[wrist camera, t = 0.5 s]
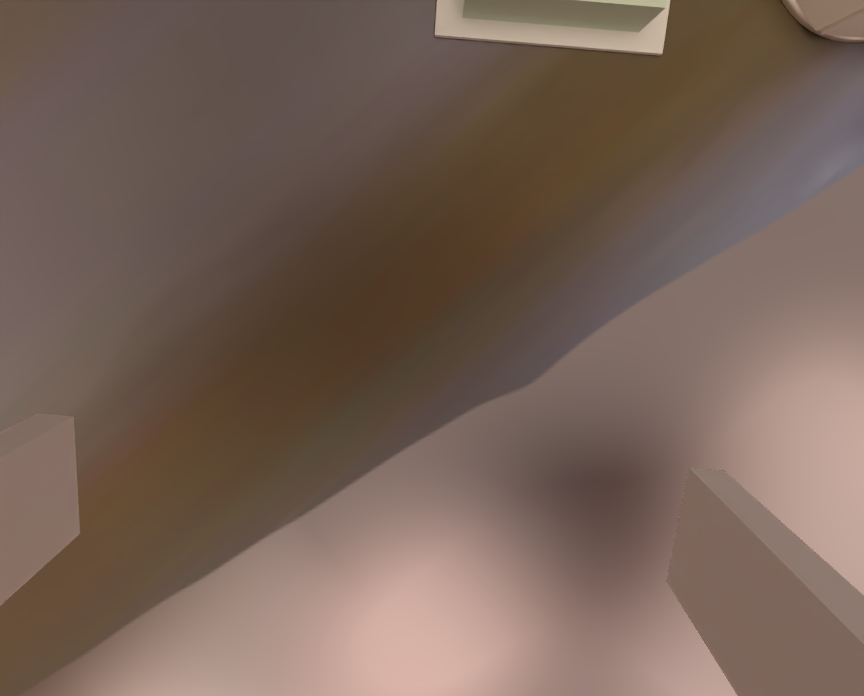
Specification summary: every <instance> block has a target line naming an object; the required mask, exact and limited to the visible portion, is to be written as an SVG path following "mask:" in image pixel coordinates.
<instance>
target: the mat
mask: <svg viewBox="0 0 864 696" xmlns="http://www.w3.org/2000/svg"><path fill="white" fill-rule="evenodd" d="M669 5H670V0H667V3H666V8H665V9H664V10H663V11H662V12H661V13H660V14H658V15H657V16H656V17H655V18H654V19H653V20H652V21H651V22H650V23H649V24H648V25H646V26H645V27H644V28H643V29H642V30H641V31H640V32H627V31H615V30H603V29H591V28H579V27H567V26H555V25H543V24H531V23H519V22H507V21H495V20H483V19H471V18H463V6H464V0H437V9H436V23H435V37H441V38H453V39H465V40H477V41H489V42H501V43H513V44H525V45H537V46H549V47H561V48H573V49H585V50H597V51H609V52H621V53H633V54H646V55H658V56H660V55H661V54H662V52H663V46H664V39H665V32H666V26H667V19H668V12H669Z"/></svg>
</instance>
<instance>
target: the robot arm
mask: <svg viewBox="0 0 864 696" xmlns="http://www.w3.org/2000/svg"><path fill="white" fill-rule="evenodd" d="M79 534H80V527H79V508H78V490H77V471H76V452H75V433H74V416H65V415H53V414H41V413H37V414H35V415H33V416H31V417H29V418H27V419H25V420H23V421H21V422H19V423H17V424H15V425H13V426H11V427H9V428H7V429H5V430H3V431H1V432H0V605H1V604H3V603H4V602H5V601H6V600H7V599H8V598H9V597H10V596H11V595H13V594H14V593H15V592H16V591H17V590H18V589H19V588H20V587H21V586H23V585H24V584H25V583H26V582H27V581H28V580H29V579H30V578H31V577H32V576H34V575H35V574H36V573H37V572H38V571H39V570H40V569H41V568H42V567H44V566H45V565H46V564H47V563H48V562H49V561H50V560H51V559H52V558H53V557H55V556H56V555H57V554H58V553H59V552H60V551H61V550H62V549H63V548H65V547H66V546H67V545H68V544H69V543H70V542H71V541H72V540H73V539H75V538H76V537H77V536H78V535H79ZM666 581H667V583H668V585H669V586H670V588H671V589H672V591H673V592H674V594H675V596H676V597H677V599H678V601H679V602H680V604H681V605H682V607H683V609H684V610H685V612H686V613H687V615H688V617H689V618H690V620H691V621H692V623H693V624H694V626H695V628H696V629H697V631H698V633H699V634H700V636H701V637H702V639H703V641H704V642H705V644H706V646H707V647H708V649H709V650H710V652H711V654H712V655H713V656H714V658H715V660H716V662H717V663H718V665H719V666H720V668H721V670H722V671H723V673H724V674H725V676H726V678H727V679H728V681H729V682H730V684H731V686H732V687H733V689H734V690H735V692H736V693H737V695H738V696H864V596H863V595H862V594H861V593H860V592H859V591H858V590H857V589H856V588H855V587H853V586H852V585H851V584H850V583H849V582H848V581H847V580H846V579H845V578H843V577H842V576H841V575H840V574H839V573H838V572H837V571H836V570H834V569H833V568H832V567H831V566H830V565H829V564H828V563H827V562H826V561H824V560H823V559H822V558H821V557H820V556H819V555H818V554H817V553H816V552H814V551H813V550H812V549H811V548H810V547H809V546H808V545H807V544H805V543H804V542H803V541H802V540H801V539H800V538H799V537H798V536H797V535H796V534H794V533H793V532H792V531H791V530H790V529H789V528H788V527H787V526H785V525H784V524H783V523H782V522H781V521H780V520H779V519H778V518H776V517H775V516H774V515H773V514H772V513H771V512H770V511H769V510H768V509H767V508H765V507H764V506H763V505H762V504H761V503H760V502H759V501H757V500H756V499H755V498H754V497H753V496H752V495H751V494H750V493H749V492H748V491H746V490H745V489H744V488H743V487H742V486H741V485H740V484H739V483H738V482H736V481H735V480H734V479H733V478H732V477H731V476H730V475H728V473H726V472H725V471H724V470H712V469H700V468H689V469H688V474H687V479H686V484H685V489H684V494H683V499H682V504H681V510H680V514H679V520H678V525H677V530H676V535H675V540H674V545H673V550H672V555H671V560H670V565H669V570H668V576H667V580H666Z"/></svg>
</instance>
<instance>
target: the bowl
mask: <svg viewBox="0 0 864 696" xmlns="http://www.w3.org/2000/svg"><path fill="white" fill-rule="evenodd" d="M781 1H782V2H783V4H784V6H785V7H786V9H787V10H788V11H789V12H790V14H791V15H792V16H793V17H794V18H795V19H796V20H797V21H798V22H799V23H800V24H801V25H803V26H804V27H805V28H807V29H808V30H810V31H811V32H813V33H815V34H817V35H819V36H821V37H824V38H827V39H830V40H834V41H840V42H847V43H860V42H864V0H781Z"/></svg>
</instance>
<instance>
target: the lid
mask: <svg viewBox="0 0 864 696" xmlns="http://www.w3.org/2000/svg"><path fill="white" fill-rule="evenodd" d="M666 3H667V0H464V6H463V18H471V19H483V20H495V21H507V22H519V23H531V24H543V25H555V26H567V27H579V28H591V29H603V30H615V31H627V32H640V31H641V30H642V29H643V28H644V27H645V26H646V25H648V24H649V23H650V22H651V21H652V20H653V19H654V18H655V17H656V16H657V15H658V14H660V13H661V12H662V11H663V10H664V9H665V8H666Z"/></svg>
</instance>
